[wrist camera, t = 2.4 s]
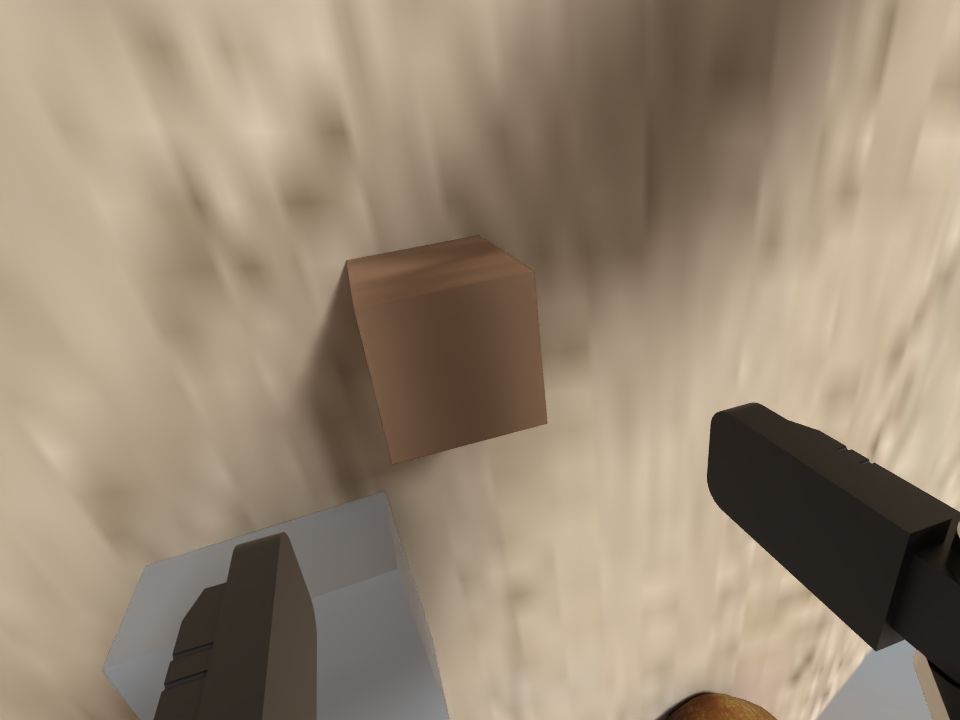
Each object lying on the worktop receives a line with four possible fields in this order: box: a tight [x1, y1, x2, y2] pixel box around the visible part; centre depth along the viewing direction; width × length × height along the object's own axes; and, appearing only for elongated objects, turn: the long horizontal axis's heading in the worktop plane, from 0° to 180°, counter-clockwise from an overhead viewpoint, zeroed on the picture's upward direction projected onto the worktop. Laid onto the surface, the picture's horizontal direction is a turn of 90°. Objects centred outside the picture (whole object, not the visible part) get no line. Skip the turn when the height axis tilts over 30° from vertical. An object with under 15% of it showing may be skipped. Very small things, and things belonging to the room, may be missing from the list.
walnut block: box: [346, 235, 547, 465], centre depth 18 cm, size 5×5×6 cm
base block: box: [102, 491, 450, 720], centre depth 22 cm, size 10×10×5 cm
